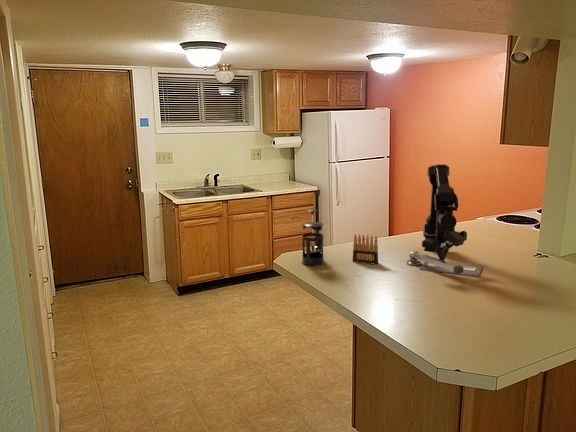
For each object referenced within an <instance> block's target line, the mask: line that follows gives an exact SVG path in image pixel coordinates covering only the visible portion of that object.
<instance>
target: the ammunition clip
mask: <svg viewBox="0 0 576 432" xmlns="http://www.w3.org/2000/svg"><path fill="white" fill-rule="evenodd" d="M353 236H354V237H353V244H352V247H353V248H352V249H353V250H352V262H353V261H358V262H357V263H362V262H366V263H365V264H371V263H374V264H373V265H378V264H379V250H378V247H379V246H378V237H377V235H375V237H373V235H370V239H369V235H368V234H367V235H366V237H365V234H362V236H361V234H358V237H357V234H356V233H355V234H354V235H353Z"/></svg>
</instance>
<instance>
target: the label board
mask: <svg viewBox="0 0 576 432" xmlns="http://www.w3.org/2000/svg"><path fill="white" fill-rule="evenodd" d="M445 261H446V262H449V263H452V264H455V265H458V266H459V265H460V266H463V273H459V274H457V273H454V272H453V271H450V270H447V269H444V268H441V267H439V266H436V265H433V264H430V263H427V262H424V261H423V263H422V264H421V266H420V267H419V270H420V271H426V270H427V271H428V272H435V273H442V274H443V273H446V274H453V275H460V276H467V277H468V276H469V277H475V278H476V277H477V278H479V277H480V275H481V272H482V270H483V269H482V268H483V264H476V263H468V262H467V263H466V262H458V261H451V260H450V261H448V260H445Z"/></svg>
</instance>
